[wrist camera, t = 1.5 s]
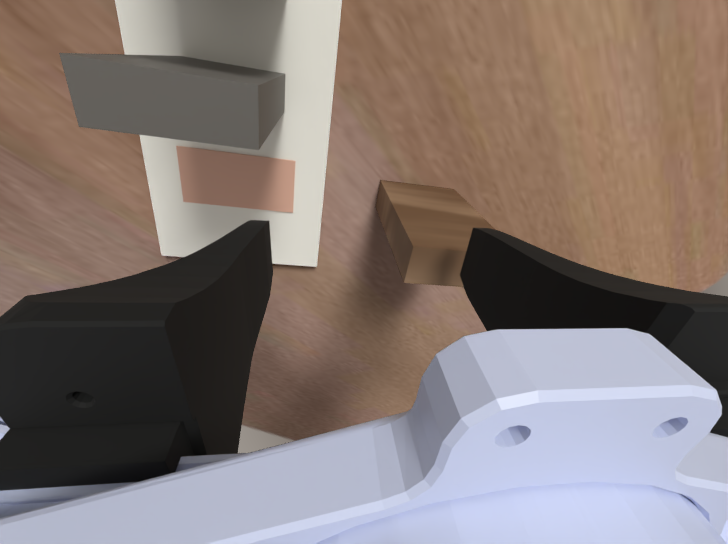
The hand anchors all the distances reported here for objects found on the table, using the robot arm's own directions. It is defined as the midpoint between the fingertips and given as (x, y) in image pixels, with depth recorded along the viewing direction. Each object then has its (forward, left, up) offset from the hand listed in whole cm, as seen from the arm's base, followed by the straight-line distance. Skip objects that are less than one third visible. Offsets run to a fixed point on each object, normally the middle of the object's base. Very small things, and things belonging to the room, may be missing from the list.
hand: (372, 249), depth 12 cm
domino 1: (+6, +4, -10) cm, 12 cm away
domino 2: (-3, -3, -11) cm, 12 cm away
